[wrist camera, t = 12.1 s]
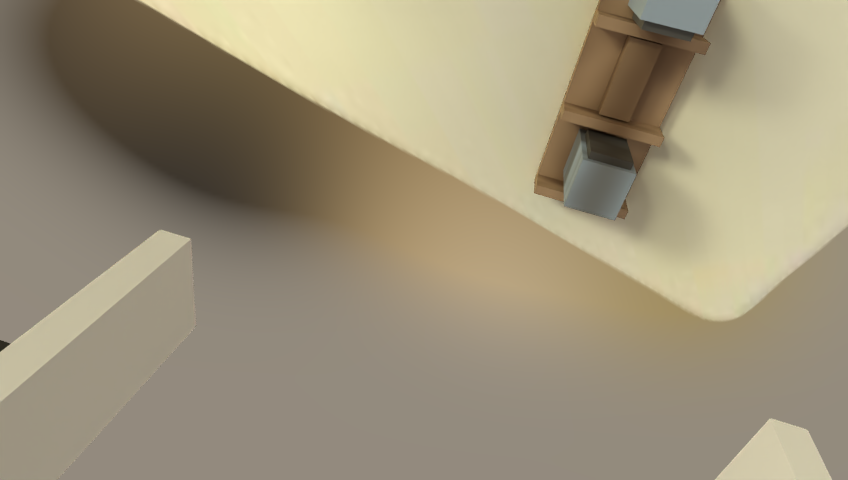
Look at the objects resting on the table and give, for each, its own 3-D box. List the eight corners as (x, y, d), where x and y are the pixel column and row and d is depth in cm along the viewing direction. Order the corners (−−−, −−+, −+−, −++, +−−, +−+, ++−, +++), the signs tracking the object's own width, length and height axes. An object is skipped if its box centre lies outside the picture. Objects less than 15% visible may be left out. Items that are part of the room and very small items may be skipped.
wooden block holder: (534, 179, 48) (530, 220, 42) (634, -98, 36) (651, -104, 30) (619, 203, 48) (629, 248, 41) (749, -71, 36) (793, -69, 29)
